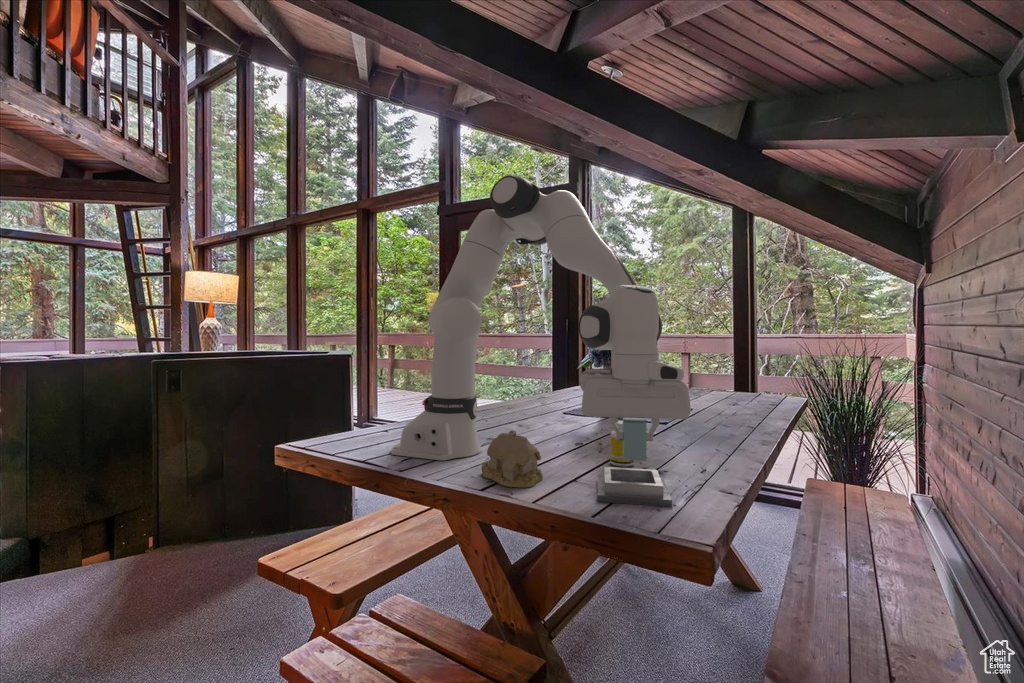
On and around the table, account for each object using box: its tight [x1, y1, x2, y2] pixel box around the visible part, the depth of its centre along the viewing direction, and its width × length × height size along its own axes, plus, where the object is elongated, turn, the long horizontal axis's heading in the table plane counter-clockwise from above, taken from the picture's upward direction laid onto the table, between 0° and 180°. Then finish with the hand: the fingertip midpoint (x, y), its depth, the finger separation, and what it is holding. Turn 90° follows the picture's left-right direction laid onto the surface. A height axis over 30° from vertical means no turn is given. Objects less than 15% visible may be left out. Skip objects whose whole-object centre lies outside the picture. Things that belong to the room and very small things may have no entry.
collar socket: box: [596, 466, 673, 508], centre depth 93 cm, size 13×13×3 cm
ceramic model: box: [480, 430, 544, 489], centre depth 102 cm, size 14×11×10 cm
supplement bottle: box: [609, 420, 635, 468], centre depth 113 cm, size 5×5×10 cm
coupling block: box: [622, 417, 648, 462], centre depth 93 cm, size 4×6×7 cm
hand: (634, 440), depth 93 cm, fingers closed on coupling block, 4 cm apart
